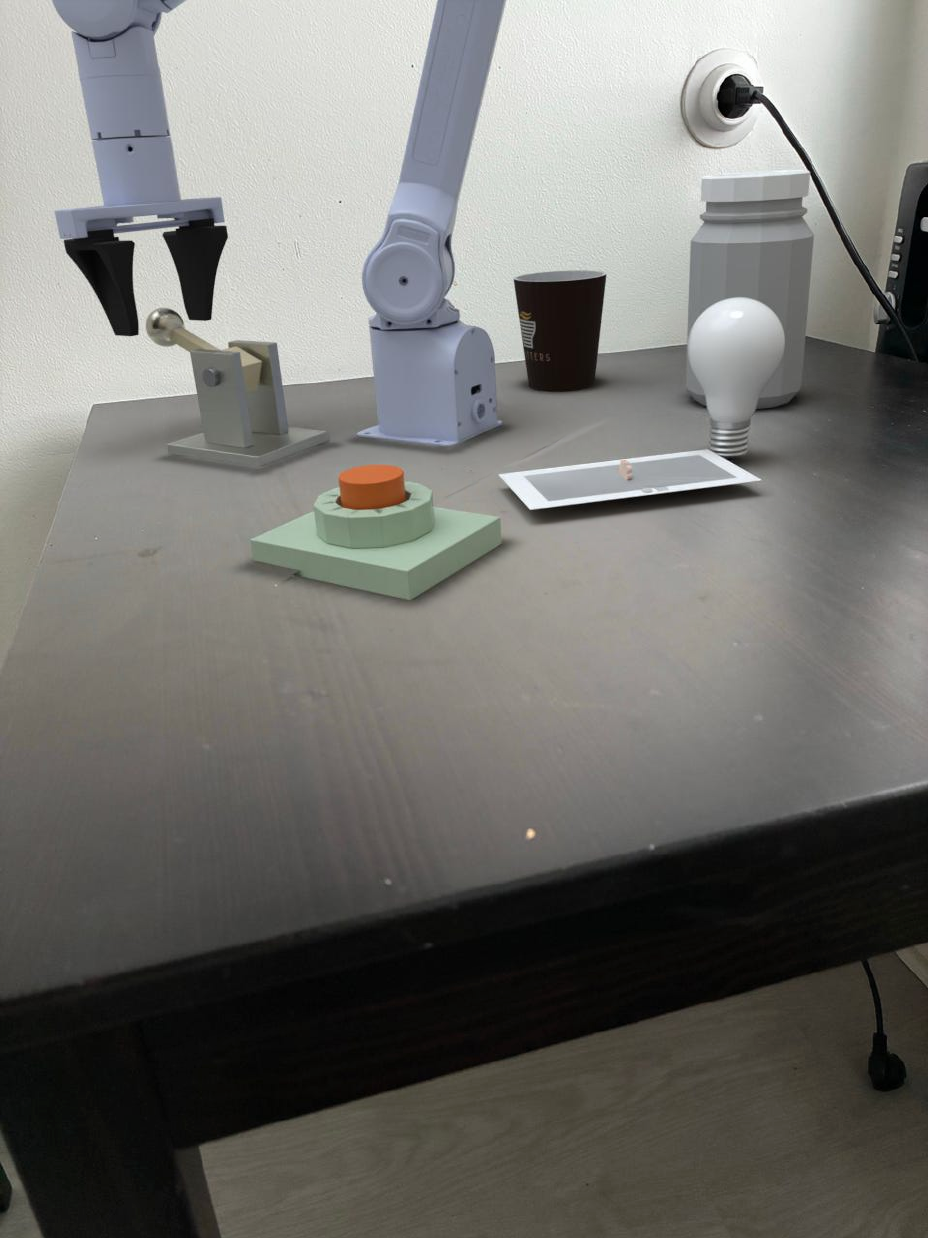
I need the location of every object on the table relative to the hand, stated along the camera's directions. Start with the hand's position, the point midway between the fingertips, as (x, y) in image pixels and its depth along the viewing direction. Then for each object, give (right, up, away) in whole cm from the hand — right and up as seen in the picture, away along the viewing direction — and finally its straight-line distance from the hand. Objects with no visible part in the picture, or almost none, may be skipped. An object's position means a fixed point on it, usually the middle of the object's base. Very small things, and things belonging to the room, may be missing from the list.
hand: (164, 327), depth 80 cm
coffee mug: (+34, 0, +18) cm, 38 cm away
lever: (+3, -3, 0) cm, 4 cm away
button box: (+19, -20, -23) cm, 36 cm away
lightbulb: (+43, -12, -9) cm, 45 cm away
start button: (+19, -17, -24) cm, 35 cm away
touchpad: (+35, -15, -15) cm, 41 cm away
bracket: (+7, -10, 0) cm, 12 cm away
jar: (+48, -4, +7) cm, 49 cm away
